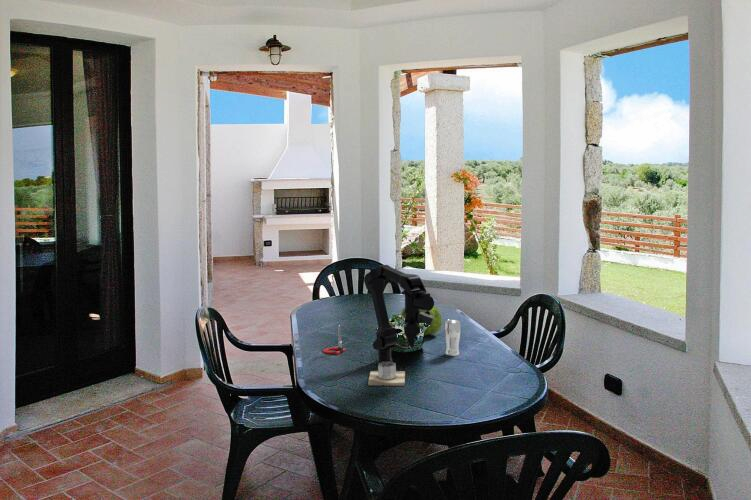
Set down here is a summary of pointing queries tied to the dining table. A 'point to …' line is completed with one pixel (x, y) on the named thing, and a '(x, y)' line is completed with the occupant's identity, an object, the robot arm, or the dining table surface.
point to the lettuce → (436, 320)
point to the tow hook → (340, 348)
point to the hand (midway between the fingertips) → (412, 344)
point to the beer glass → (452, 337)
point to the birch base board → (393, 382)
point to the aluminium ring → (387, 370)
